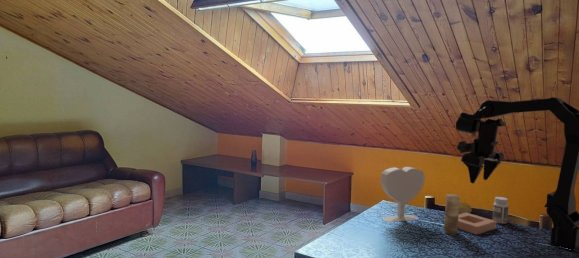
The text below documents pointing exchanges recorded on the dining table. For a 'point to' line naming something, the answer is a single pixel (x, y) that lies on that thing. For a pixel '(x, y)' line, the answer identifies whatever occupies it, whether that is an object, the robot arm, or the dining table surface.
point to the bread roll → (464, 207)
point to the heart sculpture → (402, 188)
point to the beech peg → (451, 214)
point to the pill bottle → (500, 210)
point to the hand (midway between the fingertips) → (478, 181)
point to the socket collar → (475, 223)
